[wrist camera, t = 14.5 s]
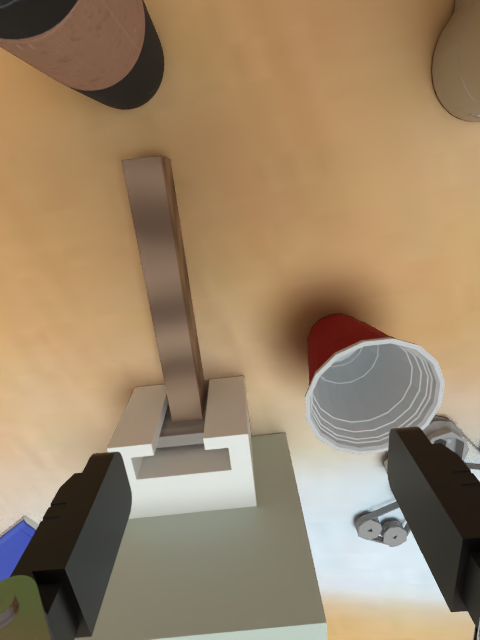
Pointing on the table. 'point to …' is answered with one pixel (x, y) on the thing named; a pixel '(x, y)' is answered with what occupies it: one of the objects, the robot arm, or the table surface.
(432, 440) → the pulley system
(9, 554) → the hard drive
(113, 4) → the travel mug
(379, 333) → the plastic cup
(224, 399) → the grey upright panel
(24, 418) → the table surface
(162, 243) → the post on square base
